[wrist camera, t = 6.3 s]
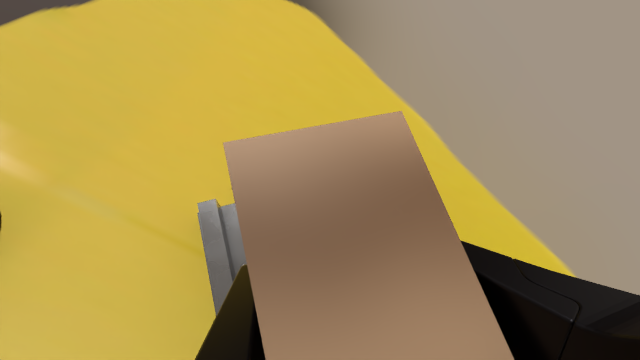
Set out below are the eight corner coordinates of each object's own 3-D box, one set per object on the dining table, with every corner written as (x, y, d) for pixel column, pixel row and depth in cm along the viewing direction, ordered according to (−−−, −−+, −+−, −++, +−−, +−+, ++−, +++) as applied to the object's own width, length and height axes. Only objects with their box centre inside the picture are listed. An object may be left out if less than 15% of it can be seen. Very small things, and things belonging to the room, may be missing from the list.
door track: (397, 393, 19) (417, 410, 17) (246, 465, 17) (241, 498, 14) (325, 183, 24) (331, 170, 22) (200, 216, 22) (189, 205, 19)
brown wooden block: (380, 365, 14) (579, 504, 5) (291, 401, 13) (326, 668, 4) (332, 212, 16) (401, 111, 7) (255, 232, 15) (223, 142, 6)
